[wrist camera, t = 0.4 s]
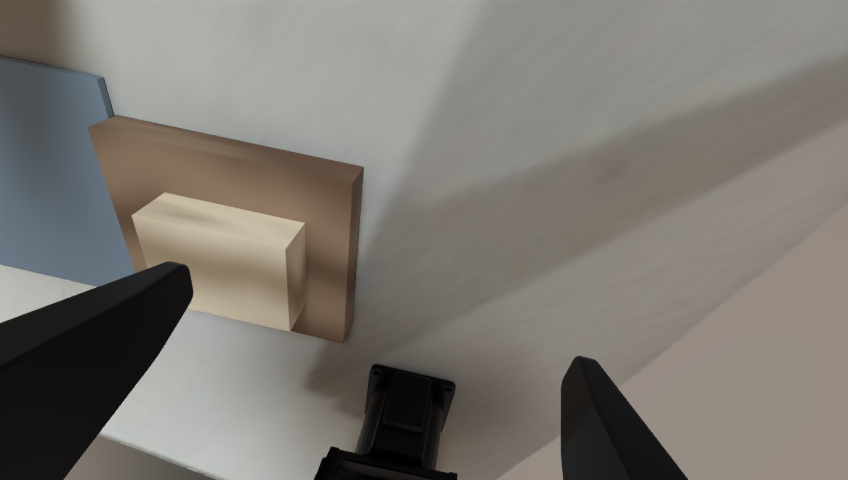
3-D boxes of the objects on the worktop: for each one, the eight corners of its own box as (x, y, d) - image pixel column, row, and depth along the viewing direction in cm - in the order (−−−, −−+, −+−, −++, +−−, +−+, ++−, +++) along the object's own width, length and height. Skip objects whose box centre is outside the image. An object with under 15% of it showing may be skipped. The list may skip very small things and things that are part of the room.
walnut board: (352, 321, 29) (343, 343, 28) (163, 278, 30) (143, 297, 28) (363, 167, 22) (352, 183, 21) (117, 115, 23) (87, 127, 21)
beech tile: (306, 302, 26) (289, 331, 24) (184, 274, 26) (157, 301, 24) (304, 223, 23) (285, 249, 21) (164, 192, 23) (131, 215, 21)
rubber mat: (166, 297, 31) (162, 301, 31) (-9, 257, 32) (-15, 260, 31) (102, 77, 22) (96, 79, 22) (-143, 26, 22) (-152, 27, 22)
